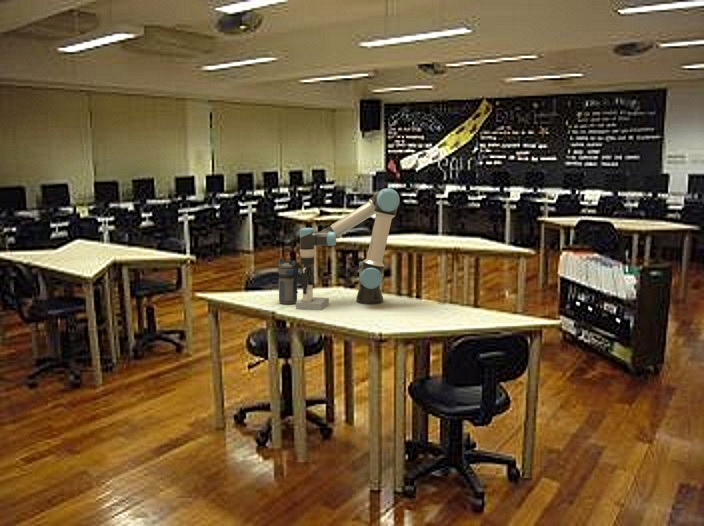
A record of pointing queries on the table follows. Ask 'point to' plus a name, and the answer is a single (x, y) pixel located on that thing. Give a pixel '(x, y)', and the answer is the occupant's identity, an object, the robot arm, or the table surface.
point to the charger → (309, 296)
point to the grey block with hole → (313, 303)
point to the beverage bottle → (288, 281)
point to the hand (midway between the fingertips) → (307, 298)
